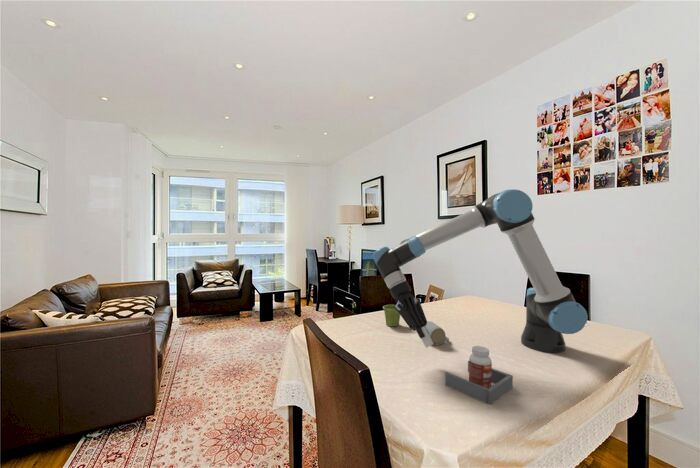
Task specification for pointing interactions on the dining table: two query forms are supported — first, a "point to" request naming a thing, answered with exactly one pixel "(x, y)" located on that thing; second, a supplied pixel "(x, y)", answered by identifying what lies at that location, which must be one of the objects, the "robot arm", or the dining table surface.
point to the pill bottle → (480, 366)
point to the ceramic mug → (436, 333)
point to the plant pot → (391, 315)
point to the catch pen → (479, 392)
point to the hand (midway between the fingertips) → (429, 345)
